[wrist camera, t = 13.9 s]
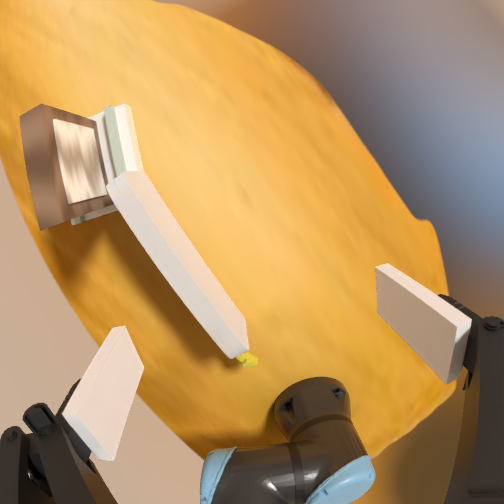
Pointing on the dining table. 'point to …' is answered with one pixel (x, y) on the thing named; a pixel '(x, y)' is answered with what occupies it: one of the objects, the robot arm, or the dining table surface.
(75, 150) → the brown picture frame
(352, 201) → the dining table surface
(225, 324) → the decorative sign
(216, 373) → the dining table surface
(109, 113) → the panel
